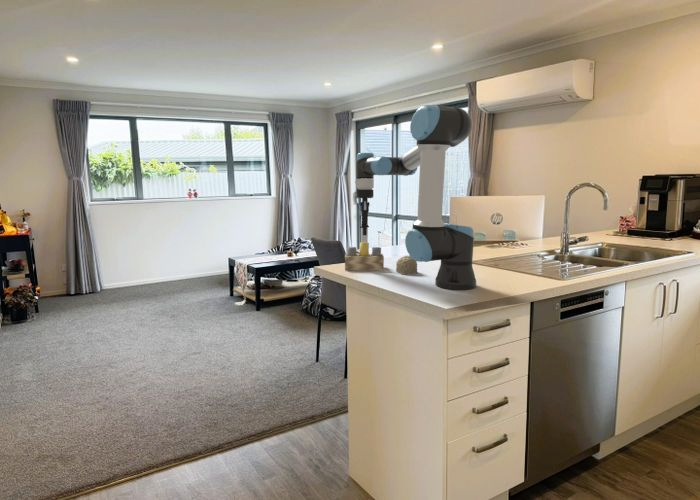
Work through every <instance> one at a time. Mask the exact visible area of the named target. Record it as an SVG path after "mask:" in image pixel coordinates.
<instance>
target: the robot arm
mask: <svg viewBox="0 0 700 500" xmlns="http://www.w3.org/2000/svg"><path fill="white" fill-rule="evenodd" d="M409 126H410V127H409V130H410V134H411V136H412V138H413V140H414V139H415V140H416V146H414V147H413V148H411V149H410V150H408V151H407V152H405V154H403V155H401V156H399V157H397V156H396V157H395V156H392V157H391V156H384V155H383V156H380V155H379V156H375V155H374V153H373V152H359V153H357V155H356V162H355V163H356V170H355V171H356V172H355V173H356V174H355V175H356V180H355V182H354V183H355V184H356V190H355V192H356V194H355V196H356V198H357V199H362V200H361V202H360V203H359V204H360V205H359V206H360V212H361V226H359V228H360V229H361V236H360V237H361V238H360V239H361V242H360V243H369V242H368V237H369V236H368V235H369V234H368V233H369V231H368V230H369V229H368V228H370V226H369V225H368V223H369V217H368V216H369V211H370V208H369V207H370V201H368V199H372V198H374V185H375V184H374V182H375V179H374V177H375V176H403V177H406V176H408V177H409V176H413V175H415V174H416V172H417V170H418V167H419V176H418V177H419V179H418V195H417V196H418V200H417V218H416V220H414V222H413V223H412V229H410V230H408V231H407V233H406V235H405V239H404V243H405V249H406V251H407V253H408V256H410V257H411V258H412V259H414V260H415V261H416V262H417V263H422V262H424V263H427V262H428V263H429V262H433V261H440V265H439V268H438V270H437V271H438V272H437V275H436V277H435V283H434V284H435V286H437V287H439V288H442V289H446V290H447V289H448V290H457V291H459V290H462V291H463V290H464V291H465V290H472V289H474V288H477V279H476V275H475V271H474V268H473V257H474V255H473V254H474V241H475V240H474V239H475V237H474V229H473V227H472V226H466V225H459V224H452V223H451V224H450V223H445V222H444V220H442V219H443V207H444V205H443V203H444V186H445V185H444V184H445V171H446V170H445V169H446V168H445V167H446V153H447V150H448V149H450V148H453V147H456V146H458V145H460V144H461V143H462V142H464V141H465V140H466V139H467V138H468V137H469V136H470V135H471V131H472V126H473V123H472V119H471V116H470V114H469V113H468V112H467V111H466V110H465V109H463V108H461V107H456V106H455V107H454V106H447V105H446V106H445V105H439V104H424V105H422V106H420V107H418V109H416V111H415V112H414V113H413V115H412V118H411V121H410V125H409Z"/></svg>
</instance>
